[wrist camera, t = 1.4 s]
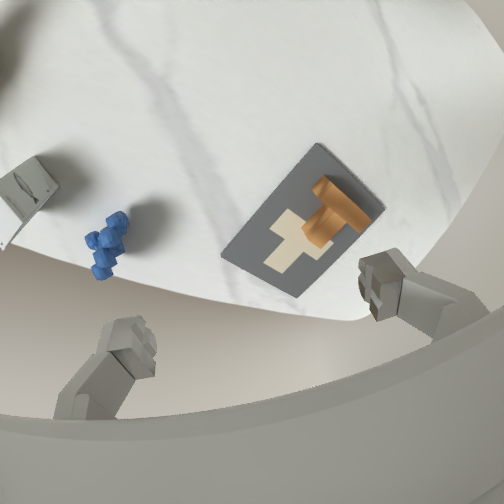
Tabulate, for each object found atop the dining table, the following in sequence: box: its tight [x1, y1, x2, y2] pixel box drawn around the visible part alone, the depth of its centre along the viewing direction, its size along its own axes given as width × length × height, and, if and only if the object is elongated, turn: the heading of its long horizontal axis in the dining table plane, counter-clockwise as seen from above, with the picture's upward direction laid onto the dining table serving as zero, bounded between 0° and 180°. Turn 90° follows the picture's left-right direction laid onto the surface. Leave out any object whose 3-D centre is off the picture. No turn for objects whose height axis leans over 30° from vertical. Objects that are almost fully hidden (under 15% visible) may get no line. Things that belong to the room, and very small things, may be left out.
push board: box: [221, 143, 385, 298], centre depth 50 cm, size 24×18×1 cm
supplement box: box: [0, 156, 59, 251], centre depth 33 cm, size 7×7×13 cm
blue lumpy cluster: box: [85, 211, 129, 280], centre depth 40 cm, size 12×7×12 cm, turn 152°
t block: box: [301, 175, 372, 249], centre depth 47 cm, size 9×10×4 cm
